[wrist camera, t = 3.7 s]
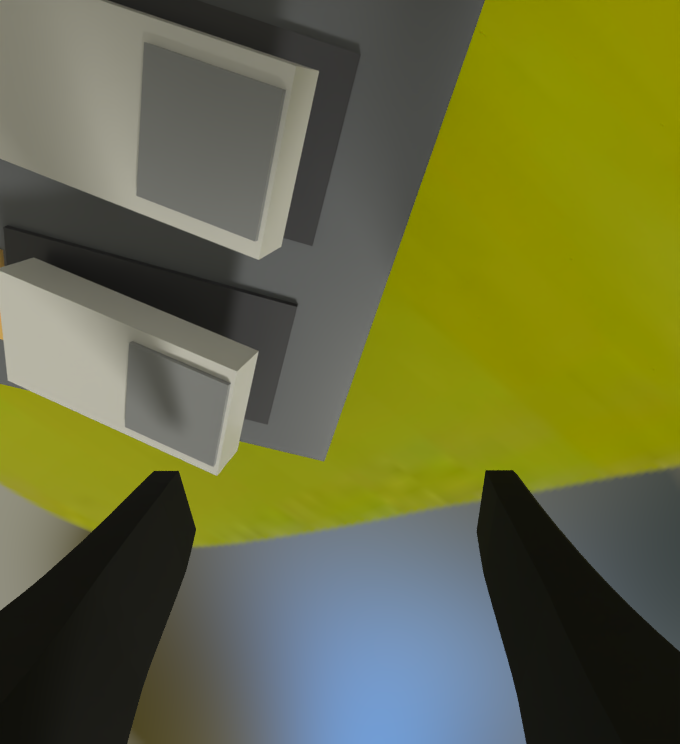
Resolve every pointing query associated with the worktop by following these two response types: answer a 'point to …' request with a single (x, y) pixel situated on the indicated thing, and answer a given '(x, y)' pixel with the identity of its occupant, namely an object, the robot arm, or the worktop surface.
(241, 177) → the rocker middle
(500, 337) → the worktop surface
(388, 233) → the switch unit
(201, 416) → the block
